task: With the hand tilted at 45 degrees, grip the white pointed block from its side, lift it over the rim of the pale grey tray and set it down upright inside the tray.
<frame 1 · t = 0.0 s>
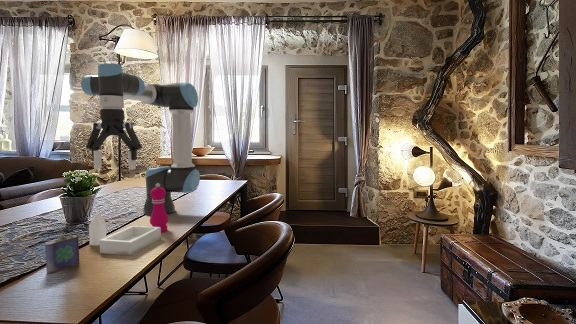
hand: (115, 169, 120), 28 cm above the table, tool pointing down, fingers open, 13 cm apart
white pointed block: (98, 243, 126), on the table
tray: (132, 245, 123), on the table
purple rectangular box: (63, 268, 103), on the table
pepper mill: (159, 231, 141), on the table
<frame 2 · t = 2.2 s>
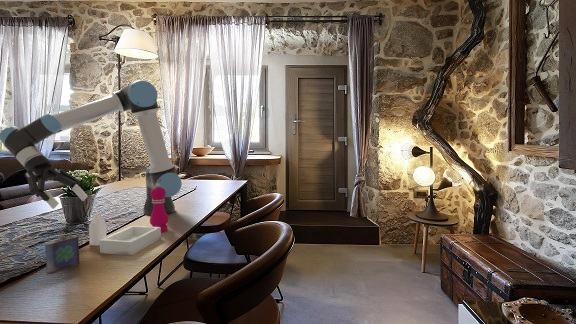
hand: (71, 202, 126), 15 cm above the table, tool tilted 45°, fingers open, 13 cm apart
nothing on the table moved.
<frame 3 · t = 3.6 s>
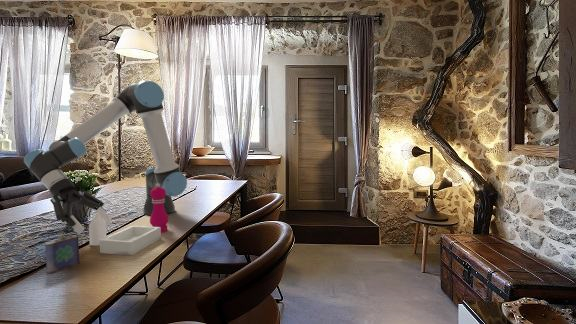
hand: (96, 226, 125), 6 cm above the table, tool tilted 45°, fingers open, 13 cm apart
nothing on the table moved.
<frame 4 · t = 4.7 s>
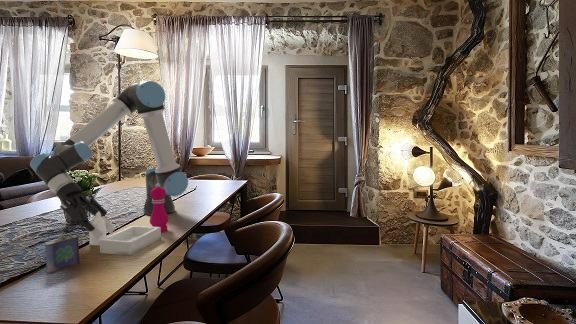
hand: (106, 233, 125), 4 cm above the table, tool tilted 45°, fingers closed on white pointed block, 6 cm apart
white pointed block: (98, 243, 126), on the table, touching gripper
everything else where it was.
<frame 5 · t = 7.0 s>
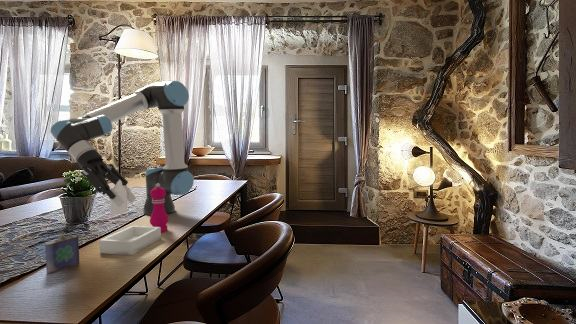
hand: (127, 202, 121), 16 cm above the table, tool tilted 45°, fingers closed on white pointed block, 6 cm apart
white pointed block: (119, 213, 122), point 12 cm above the table, touching gripper
everything else where it was.
when the fingers open (6 cm above the table, at t = 9.5 s): white pointed block stays where it is, resting on tray.
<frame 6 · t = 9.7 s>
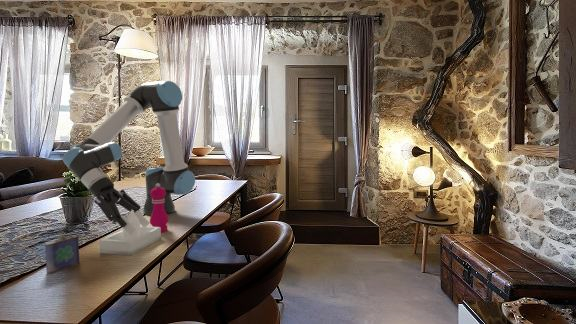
hand: (140, 228, 122), 6 cm above the table, tool tilted 45°, fingers open, 8 cm apart
white pointed block: (132, 242, 123), point 1 cm above the table, touching tray
everything else where it was.
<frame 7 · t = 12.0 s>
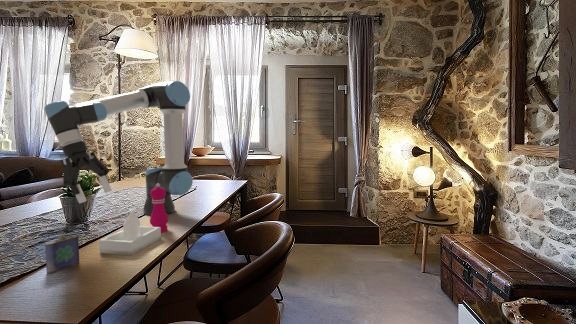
hand: (96, 196, 127), 17 cm above the table, tool tilted 20°, fingers open, 13 cm apart
nothing on the table moved.
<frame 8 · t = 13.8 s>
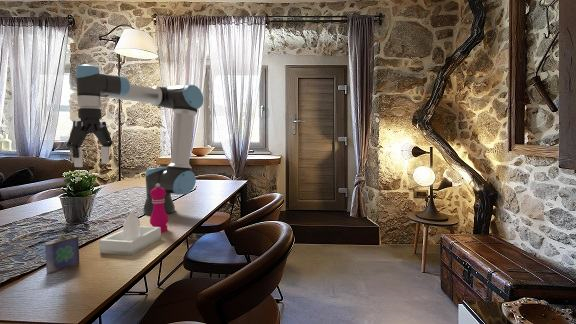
hand: (92, 165, 128), 29 cm above the table, tool pointing down, fingers open, 13 cm apart
nothing on the table moved.
at the end: white pointed block inside the target area (0.2 cm from its centre), point 1.0 cm above the table; white pointed block tilted 1°; the gripper is holding nothing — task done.
